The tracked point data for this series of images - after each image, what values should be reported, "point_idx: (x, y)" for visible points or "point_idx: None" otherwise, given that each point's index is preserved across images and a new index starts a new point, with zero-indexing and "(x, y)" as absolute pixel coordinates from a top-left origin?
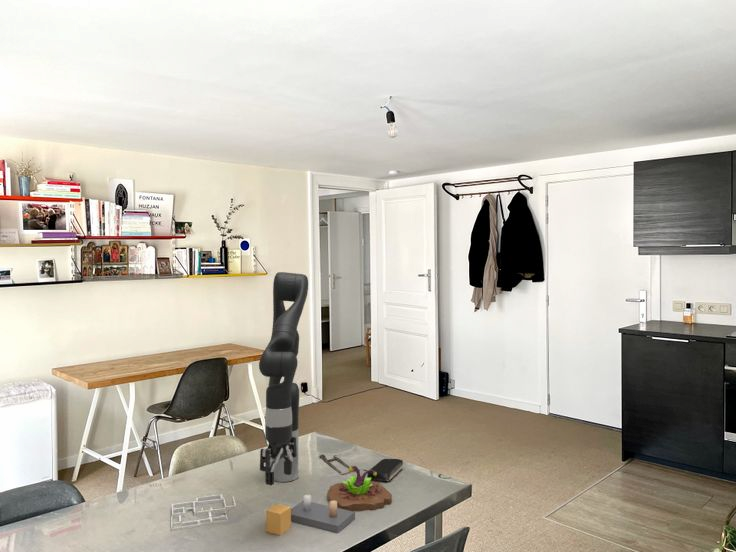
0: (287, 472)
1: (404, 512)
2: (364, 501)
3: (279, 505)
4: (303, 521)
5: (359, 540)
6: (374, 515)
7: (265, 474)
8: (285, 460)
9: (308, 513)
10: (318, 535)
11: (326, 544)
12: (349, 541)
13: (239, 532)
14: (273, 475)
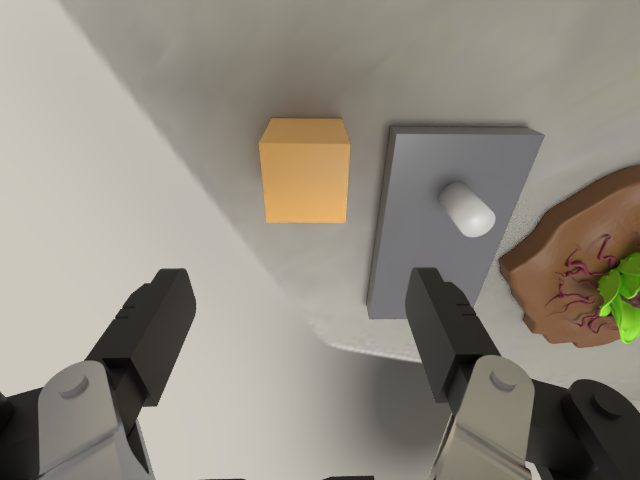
0: (412, 302)
1: None
2: (543, 316)
3: (338, 169)
4: (381, 211)
5: (352, 347)
6: (490, 329)
7: (94, 346)
8: (463, 375)
9: (420, 216)
10: (333, 273)
11: (300, 306)
12: (338, 335)
13: (199, 3)
14: (165, 372)
